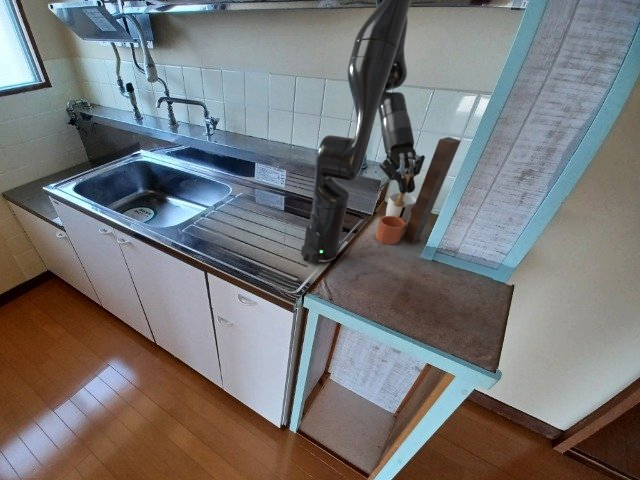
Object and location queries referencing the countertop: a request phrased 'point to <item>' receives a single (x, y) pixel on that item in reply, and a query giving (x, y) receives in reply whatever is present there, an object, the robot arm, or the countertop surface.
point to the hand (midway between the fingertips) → (408, 192)
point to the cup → (401, 211)
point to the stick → (399, 202)
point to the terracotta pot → (390, 229)
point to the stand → (430, 188)
